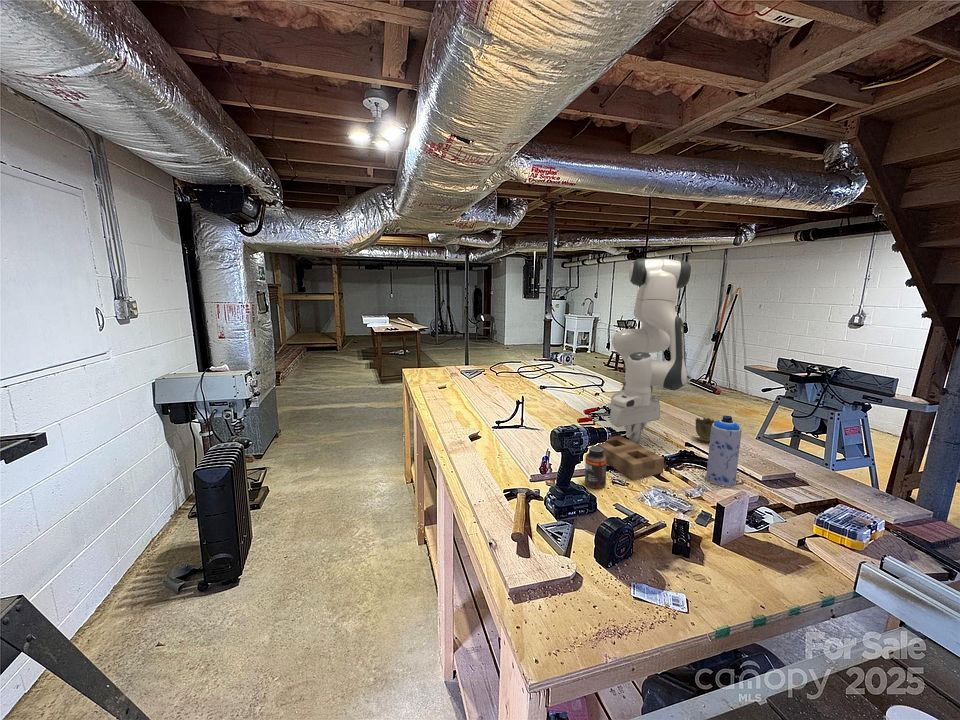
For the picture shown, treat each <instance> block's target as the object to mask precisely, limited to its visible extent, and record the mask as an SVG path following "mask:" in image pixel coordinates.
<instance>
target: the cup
mask: <svg viewBox="0 0 960 720" xmlns="http://www.w3.org/2000/svg"><path fill="white" fill-rule="evenodd" d="M716 421H717V420H714V419H710V417H707V418H706V417H703V419H700V417H696V418H695V432H696V434H697V436H698V437H699V440H700V441H701V442H703V443H710V434H711V426H712V424H713V423H715V422H716Z"/></svg>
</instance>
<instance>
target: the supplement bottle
mask: <svg viewBox="0 0 960 720" xmlns="http://www.w3.org/2000/svg"><path fill="white" fill-rule="evenodd" d="M584 461H585V463H584V465H585V468H584V470H585V471H584V474H585V475H584V483H585V485H586V486H587V487H589V488H591V489H596V490H597V489H603V488H605V487H606V484H607V464H606V462H607V459H606V456H605V455H603V448H601V447H598V446H592V445H591V446H589V448H588V453H587V454H586V455H585V460H584Z"/></svg>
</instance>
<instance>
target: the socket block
mask: <svg viewBox="0 0 960 720" xmlns="http://www.w3.org/2000/svg"><path fill="white" fill-rule="evenodd" d="M596 446H598V447H601V448H603V455H605V456H606V459H607V462H606V465H607V466H610V467H611V468H613V469H615V470H616V471H618V472H619V473H620V474H622V475H624V476H626V477H627V478H629V479H630V480H632V481H634V480H639V479H643V478H647V477H652V476H655V475H660V474H663V473H664V469H665V457H663V456H662V455H660V454H658V453H656V452H653V451H652V450H650V449H647V448H645V447H644V446H642V445H640V444H639V445H638V444H636V443H634V442H632V441H630V440H629V438H628V439H627V438H626V437H624V436H622V435H614V436H609V439H608V441H606V442H605V443H602V444H598V445H596Z"/></svg>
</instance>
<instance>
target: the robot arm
mask: <svg viewBox="0 0 960 720" xmlns="http://www.w3.org/2000/svg"><path fill="white" fill-rule="evenodd" d="M628 277H629V282H630V283H631V284H632V285H634V286H636V287H638V290H637V294H636V298H635V303H634V306H633V307H634V308H633V316H634V318H635V319H636V320H637V321H639V322H640V323H641V324H642V325H641V328H625V329H621V330H618V331H615V333H614V334H613V336H612V339H611V344H612V348H613V349H614V351H615V352H617V354H619V355H620V357H621V358H622V360H623V361H624V365H625V366H624V367H625V372H624V373H625V375H624V378H625V382H624V381H623V382H622V383H620V386H622V388H621V389H620V390H618V391H617V392H616V393H613V394H611V395H612V396H611V397H610V402H608V403H606V404H605V406H608V407H609V408H610V409H611V410H610V409H609V410H610V413H609V416H610V417H609V421H610V424H611V425H612V426H614V427H616V428H621V427H624V430H625V435H626V436H627V437H629V436H632V435H633V431H631V430H630V427H631V425H633V424H638V423H641V428H640V435H643V434H644V431H645V429H646V427H647V425H648V423H651V422H656V421H659V420H660V418H661V404H660V398H659V396H657V395H655V394H654V395H652V394H653V390H654V387H657V388H663V389H666V390H669V391H673V392H675V391H677V390H679V389H682V388H683V387H684V386H685V385H686V383H687V381H688V371H687V363H686V362H687V361H686V344H685V341H686V340H685V326H684V322H683V319H682V318H681V316H678V314H677V311H676V302H677V301H676V300H677V289H682V288H684V287H686V286H687V285H688V284H689V282H690V280H691V277H692V266H691V264H690V263H689V262H688V261H684V260H675V259H671V258H670V259H668V258H637V259H635V260H634V261H633V262H632V264H631V265H630V267H629V270H628ZM669 347H670V360H669V361H666V360H659V359H653V358H652V355H651V354H656V353H660V352H664V351H666V350H668V348H669Z"/></svg>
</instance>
